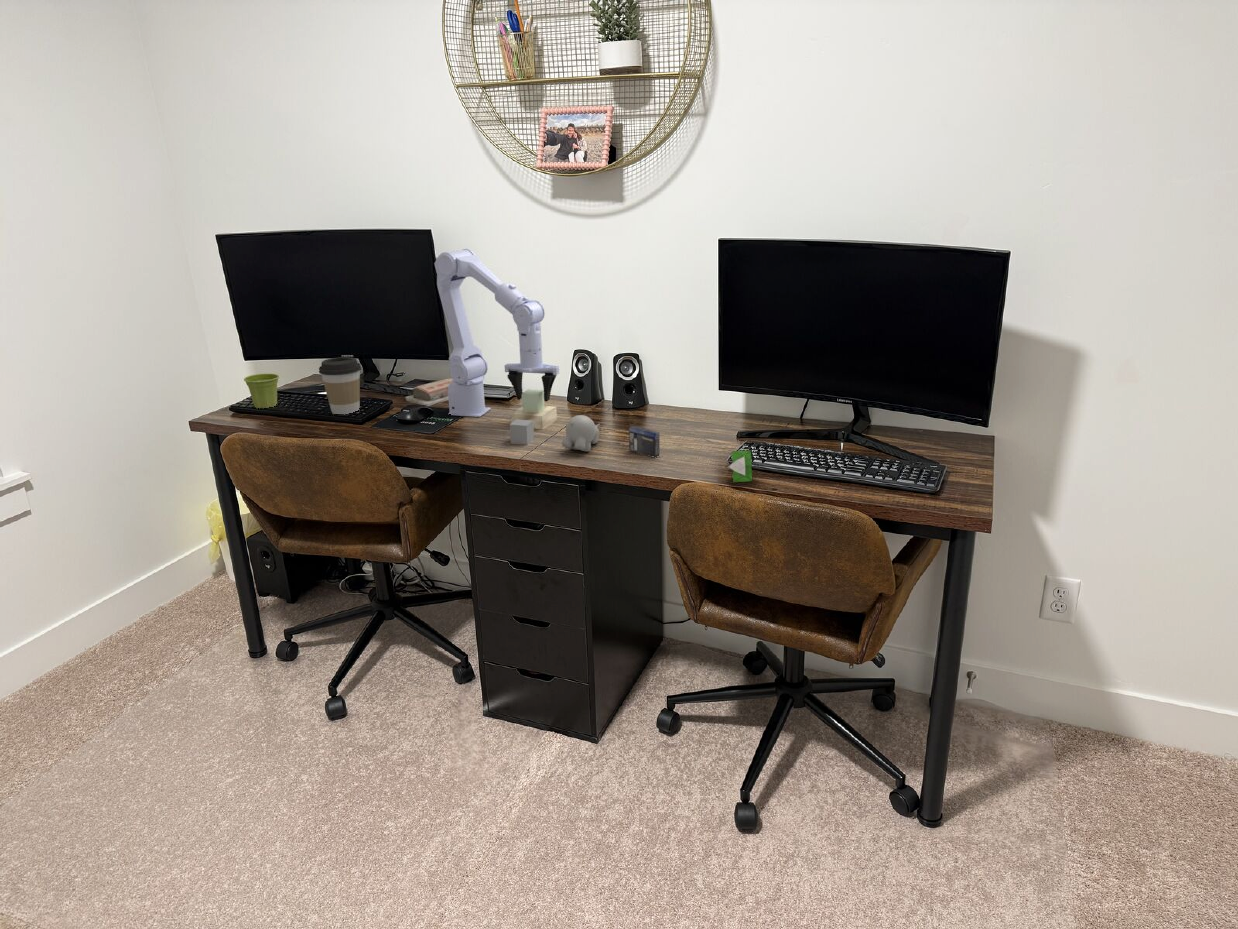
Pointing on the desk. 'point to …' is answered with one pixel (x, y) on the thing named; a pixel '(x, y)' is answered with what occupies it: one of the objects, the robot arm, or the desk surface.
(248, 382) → the plant pot
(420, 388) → the packaged product
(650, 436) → the mini dv tape
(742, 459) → the geometric puzzle
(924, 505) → the desk surface
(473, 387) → the robot arm
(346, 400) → the coffee cup
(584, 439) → the round bodied animal figurine
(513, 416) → the birch block
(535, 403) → the sage cube
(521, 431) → the grey cube
